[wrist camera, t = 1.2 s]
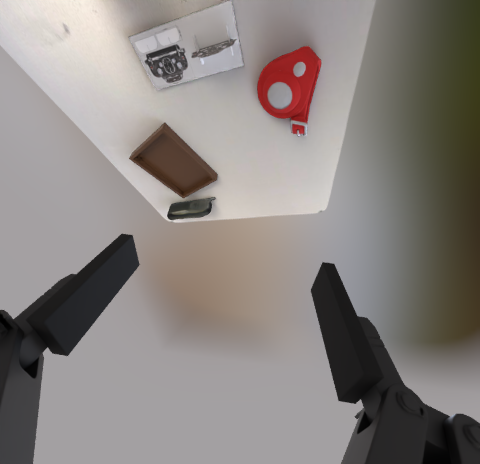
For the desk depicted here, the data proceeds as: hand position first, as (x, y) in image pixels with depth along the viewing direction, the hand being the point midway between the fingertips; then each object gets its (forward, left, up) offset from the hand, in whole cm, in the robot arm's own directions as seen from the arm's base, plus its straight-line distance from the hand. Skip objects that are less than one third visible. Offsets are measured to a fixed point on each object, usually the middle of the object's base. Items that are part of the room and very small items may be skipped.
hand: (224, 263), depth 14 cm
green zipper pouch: (+16, -31, -32) cm, 47 cm away
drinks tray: (+5, -24, -31) cm, 40 cm away
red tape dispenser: (+6, +4, -32) cm, 32 cm away
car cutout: (-7, -6, -32) cm, 33 cm away
